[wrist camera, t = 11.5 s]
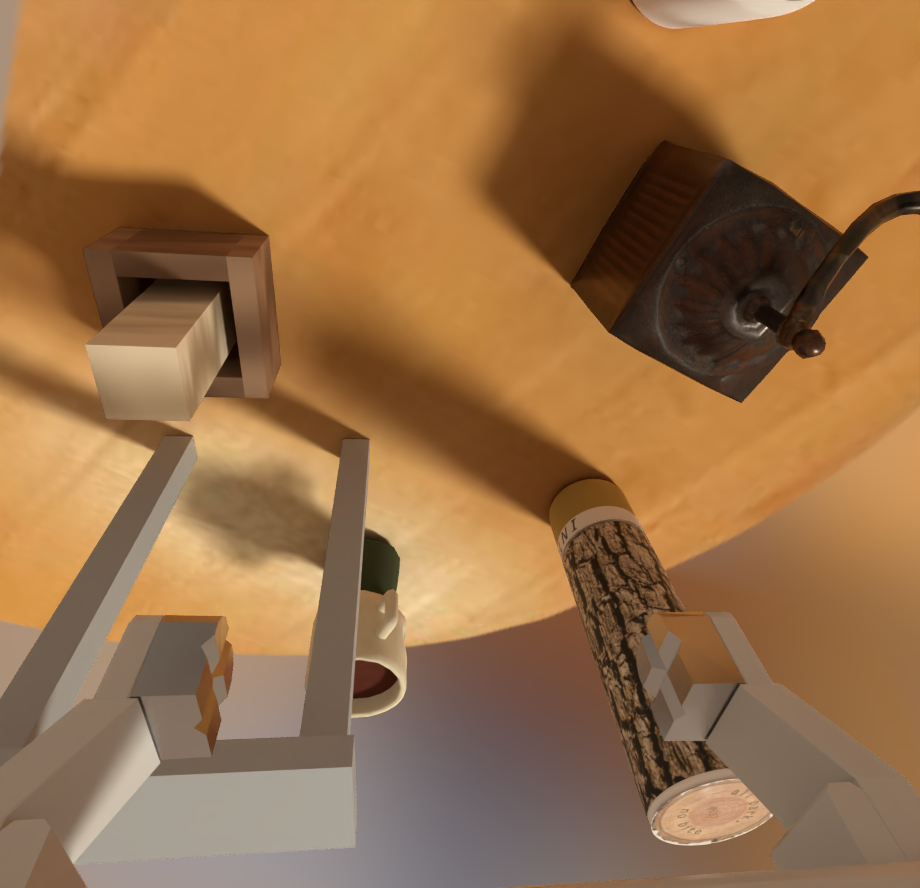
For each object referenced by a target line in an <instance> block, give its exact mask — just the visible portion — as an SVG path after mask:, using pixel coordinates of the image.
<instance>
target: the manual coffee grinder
mask: <svg viewBox="0 0 920 888" xmlns="http://www.w3.org/2000/svg"><path fill="white" fill-rule="evenodd" d="M908 214H919V215H920V191H912V192H905V193H899V194H894V195H891V196H889V197H887V198H885V199H882V200H880V201H878V202H876V203H874V204H872V205H871V206H870V207H869V208H868V209H867V210H866V211H865V212H864V213H862V214H861V215H860V216H859V217H858V218H857V219H856V220H855V221H854V222H853V223H852V224H851V225H850V226H849V227H848V229H847V230H846V231H845V233H844V234H843V233H841V232H840V231H839V230H837V229H836V228H835V227H833V226H832V225H830V224H829V223H827V222H826V221H825V220H823V219H822V218H820V217H819V216H817V215H816V214H814V213H813V212H812V211H810V210H809V209H807V208H806V207H804V206H803V205H801V204H800V203H799V202H797V201H796V200H795V199H794V198H792V197H791V196H790V195H788V194H787V193H786V192H784V191H783V190H782V189H780V188H779V187H778V186H776V185H775V184H774V183H772V182H770V181H768V180H766V179H765V178H763V177H761V176H759V175H757V174H755V173H753V172H751V171H749V170H747V169H745V168H743V167H741V166H739V165H738V164H736V163H734V162H733V161H731V160H729V159H726V158H723V157H719V156H715V155H711V154H707V153H703V152H699V151H695V150H691V149H688V148H684V147H680V146H677V145H674V144H672V143H670V142H668V141H666V140H664V141H663V142H662V143H661V144H660V145H659V146H658V147H657V149H656V150H655V151H654V152H653V153H652V154H651V156H650V157H649V158H648V159H647V160H646V162H645V163H644V164H643V165H642V167H641V168H640V170H639V172H638V173H637V175H636V176H635V178H634V179H633V181H632V182H631V184H630V186H629V187H628V189H627V190H626V192H625V193H624V195H623V197H622V198H621V200H620V202H619V203H618V205H617V206H616V208H615V210H614V211H613V213H612V214H611V216H610V218H609V219H608V221H607V223H606V224H605V226H604V227H603V229H602V231H601V233H600V234H599V236H598V238H597V240H596V241H595V243H594V245H593V247H592V248H591V250H590V252H589V254H588V255H587V257H586V259H585V261H584V262H583V264H582V266H581V268H580V269H579V271H578V273H577V275H576V276H575V278H574V280H573V282H572V284H571V288H573V289H574V290H575V291H576V293H577V294H578V295H579V297H580V298H581V299H582V300H583V302H584V303H585V304H586V306H587V307H588V308H589V309H590V311H591V312H592V313H593V314H594V315H595V317H596V318H597V319H598V320H599V321H600V323H601V324H602V325H603V326H604V327H605V329H606V330H607V331H608V332H609V333H611V334H612V335H614V336H615V337H617V338H618V339H620V340H622V341H623V342H625V343H626V344H628V345H630V346H631V347H633V348H634V349H636V350H638V351H640V352H642V353H644V354H645V355H647V356H649V357H651V358H653V359H655V360H657V361H659V362H660V363H662V364H664V365H666V366H668V367H670V368H672V369H674V370H676V371H677V372H679V373H681V374H683V375H685V376H687V377H689V378H691V379H692V380H694V381H696V382H698V383H700V384H702V385H704V386H706V387H708V388H710V389H712V390H714V391H716V392H719V393H721V394H723V395H725V396H727V397H729V398H732V399H734V400H736V401H738V402H740V403H742V402H743V401H744V399H745V398H746V397H747V396H748V395H749V394H750V393H751V392H752V391H753V390H754V388H755V387H756V386H757V385H758V384H759V383H760V382H761V381H762V380H763V379H764V378H765V376H766V375H767V374H768V373H769V372H770V371H771V370H772V369H773V367H774V366H775V365H776V364H777V363H778V362H779V361H780V359H781V358H782V357H783V356H784V355H785V354H786V353H787V352H788V351H789V350H794V351H795V352H796V354H797V355H798V356H800V357H801V358H803V359H805V358H810V357H814V356H817V355H820V354H821V353H822V352H823V351H824V350H825V344H826V342H825V339H824V337H823V336H822V335H821V333H820V332H819V331H818V330H812V329H811V327H812V326H813V325H814V323H815V322H816V320H817V319H818V317H819V315H820V313H821V312H822V311H823V310H824V309H825V308H826V306H827V305H828V304H829V303H830V302H831V301H832V299H833V298H834V297H835V296H836V295H837V294H838V293H839V291H840V290H841V289H842V288H843V287H844V286H845V284H846V283H847V282H848V281H849V280H850V278H851V277H852V276H853V275H854V274H855V273H856V271H857V270H858V269H859V268H860V267H861V266H862V264H863V263H864V262H865V261H866V260H867V258H868V256H867V255H866V254H865V253H864V252H862V251H861V250H860V249H859V248H858V246H859V245H860V244H861V243H862V242H863V241H864V240H865V238H866V237H867V236H868V235H869V234H871V233H872V232H873V231H874V230H876V229H877V228H878V227H879V226H880V225H882V224H883V223H885V222H887V221H889V220H891V219H894V218H896V217H898V216H900V215H908Z"/></svg>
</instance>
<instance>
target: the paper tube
mask: <svg viewBox="0 0 920 888" xmlns="http://www.w3.org/2000/svg"><path fill="white" fill-rule="evenodd" d="M549 521H550V525H551V528H552V531H553V534H554V537H555V540H556V543H557V546H558V550H559V553H560V556H561V559H562V562H563V565H564V568H565V571H566V574H567V577H568V580H569V583H570V586H571V589H572V592H573V595H574V598H575V601H576V604H577V607H578V611H579V614H580V617H581V620H582V622H583V626H584V629H585V631H586V635H587V638H588V641H589V644H590V647H591V650H592V653H593V656H594V659H595V662H596V665H597V668H598V671H599V674H600V677H601V680H602V683H603V686H604V689H605V692H606V695H607V698H608V701H609V704H610V707H611V710H612V713H613V716H614V719H615V722H616V725H617V728H618V732H619V735H620V738H621V740H622V744H623V747H624V750H625V753H626V756H627V759H628V762H629V765H630V768H631V770H632V774H633V777H634V780H635V783H636V786H637V789H638V792H639V795H640V798H641V801H642V804H643V807H644V810H645V813H646V816H647V819H648V822H649V823H650V825H651V829H652V832H653V834H654V835H655V836H656V837H657V838H659V839H660V840H662V841H665V842H668V843H672V844H677V845H703V844H710V843H716V842H720V841H724V840H727V839H731V838H734V837H737V836H739V835H742V834H744V833H747V832H749V831H751V830H753V829H755V828H756V827H758V826H760V825H761V824H763V823H764V822H766V821H767V820H768V819H769V818H770V817H772V816H773V814H772V813H771V812H770V811H769V810H768V809H767V808H766V807H765V806H764V805H763V804H762V803H761V802H760V801H759V800H758V798H757V797H756V796H755V795H754V794H753V793H752V792H751V791H750V790H749V789H748V788H747V787H746V786H745V785H744V784H743V783H742V781H741V780H740V779H739V778H738V777H737V776H736V775H735V774H734V773H733V772H732V771H731V770H730V769H729V768H728V767H727V766H726V764H725V763H724V762H723V761H722V760H721V759H720V758H719V757H718V756H717V755H716V754H715V753H714V752H713V751H712V750H711V749H710V747H709V746H708V745H707V744H706V741H664V740H663V738H662V735H661V733H660V730H659V727H658V725H657V722H656V720H655V717H654V715H653V712H652V709H651V707H652V704H653V701H654V697H653V696H652V695H651V694H650V693H649V692H648V691H647V690H645V689H644V688H643V686H642V683H641V680H640V678H639V674H638V669H637V648H638V646H639V643H640V640H641V639H642V638H643V637H645V636H646V635H648V634H649V633H650V632H649V629H648V627H647V623H648V620H649V618H650V616H651V615H653V614H654V613H659V612H686V610H685V608H684V607H683V605H682V603H681V601H680V599H679V597H678V595H677V593H676V591H675V589H674V588H673V586H672V584H671V582H670V580H669V578H668V576H667V574H666V572H665V570H664V569H663V567H662V565H661V563H660V561H659V559H658V557H657V555H656V553H655V551H654V550H653V548H652V546H651V544H650V542H649V540H648V538H647V536H646V534H645V532H644V531H643V529H642V527H641V525H640V523H639V521H638V519H637V518H636V516H635V514H634V512H633V510H632V508H631V506H630V505H629V503H628V501H627V499H626V497H625V495H624V493H623V492H622V491H621V489H620V488H619V487H617V486H616V485H615V484H613V483H611V482H609V481H606V480H601V479H585V480H580V481H577V482H575V483H572V484H570V485H569V486H567V487H565V488H564V489H563V490H562V491H561V492H560V493H559V494H558V495H557V496H556V497H555V499H554V500H553V502H552V504H551V507H550V510H549Z"/></svg>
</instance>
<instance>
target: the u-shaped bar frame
mask: <svg viewBox="0 0 920 888" xmlns="http://www.w3.org/2000/svg"><path fill="white" fill-rule="evenodd" d="M196 460H197V454H196V449H195V444H194V439H193V436H164V438H163V440H162V441H161V443H160V444H159V446H158V448H157V449H156V451H155V452H154V454H153V456H152V457H151V459H150V460H149V462H148V464H147V465H146V467H145V468H144V470H143V472H142V473H141V475H140V476H139V478H138V480H137V481H136V483H135V484H134V486H133V488H132V489H131V491H130V492H129V494H128V496H127V497H126V499H125V500H124V502H123V504H122V505H121V507H120V508H119V510H118V512H117V513H116V515H115V516H114V518H113V520H112V521H111V523H110V524H109V526H108V528H107V529H106V531H105V532H104V534H103V536H102V537H101V539H100V540H99V542H98V544H97V545H96V547H95V548H94V550H93V552H92V553H91V555H90V556H89V558H88V560H87V561H86V563H85V564H84V566H83V568H82V569H81V571H80V572H79V574H78V576H77V577H76V579H75V580H74V582H73V584H72V585H71V587H70V588H69V590H68V592H67V593H66V595H65V596H64V598H63V600H62V601H61V603H60V604H59V606H58V608H57V609H56V611H55V612H54V614H53V616H52V617H51V619H50V620H49V622H48V624H47V625H46V627H45V628H44V630H43V632H42V633H41V635H40V636H39V638H38V640H37V641H36V643H35V644H34V646H33V648H32V649H31V651H30V652H29V654H28V656H27V657H26V659H25V660H24V662H23V664H22V665H21V667H20V668H19V670H18V672H17V673H16V675H15V676H14V678H13V680H12V681H11V683H10V684H9V686H8V688H7V689H6V691H5V692H4V694H3V696H2V697H1V699H0V767H1V766H2V765H4V764H5V763H6V762H7V761H9V760H10V759H11V758H12V757H14V756H15V755H16V754H17V753H18V752H20V751H21V750H22V749H23V748H25V747H26V746H27V745H28V744H30V743H31V742H32V741H33V740H34V739H36V738H37V737H38V736H39V735H41V734H42V733H43V732H44V731H46V730H47V729H48V728H49V727H50V726H52V725H53V724H54V723H55V722H57V721H58V720H59V719H60V718H62V717H63V716H64V715H65V714H66V713H68V712H69V711H70V709H71V707H72V705H73V703H74V701H75V699H76V697H77V695H78V693H79V691H80V689H81V687H82V685H83V683H84V681H85V679H86V677H87V675H88V673H89V671H90V669H91V667H92V666H93V664H94V662H95V660H96V658H97V656H98V654H99V652H100V650H101V648H102V646H103V644H104V642H105V640H106V638H107V636H108V634H109V632H110V630H111V628H112V626H113V624H114V622H115V620H116V618H117V616H118V614H119V612H120V610H121V608H122V606H123V604H124V602H125V600H126V598H127V596H128V595H129V593H130V591H131V589H132V587H133V585H134V583H135V581H136V579H137V577H138V575H139V573H140V571H141V569H142V567H143V565H144V563H145V561H146V559H147V557H148V555H149V553H150V551H151V549H152V547H153V545H154V543H155V541H156V539H157V537H158V535H159V533H160V531H161V529H162V527H163V525H164V523H165V522H166V520H167V518H168V516H169V514H170V512H171V510H172V508H173V506H174V504H175V502H176V500H177V498H178V496H179V494H180V492H181V490H182V488H183V486H184V484H185V482H186V480H187V478H188V476H189V474H190V472H191V470H192V468H193V466H194V464H195V462H196ZM368 474H369V439H343V442H342V449H341V456H340V463H339V469H338V476H337V483H336V490H335V497H334V504H333V511H332V518H331V524H330V531H329V538H328V545H327V552H326V559H325V566H324V572H323V579H322V586H321V593H320V600H319V607H318V614H317V621H316V627H315V634H314V641H313V648H312V655H311V662H310V669H309V675H308V682H307V689H306V696H305V703H304V710H303V717H302V724H301V731H300V737H281V738H259V739H258V738H257V739H234V740H233V739H232V740H216V743H215V746H214V750H213V754H212V757H200V758H184V759H167V760H160V764H159V765H158V766H157V768H156V769H155V770H154V771H153V772H152V773H151V775H150V776H149V777H148V778H147V779H146V780H145V781H144V783H143V784H142V785H141V786H140V787H139V788H138V790H137V791H136V792H135V793H134V794H133V795H132V796H131V798H130V799H129V800H128V801H127V802H126V803H125V805H124V806H123V807H122V808H121V809H120V810H119V812H118V813H117V814H116V815H115V816H114V817H113V818H112V820H111V821H110V822H109V823H108V824H107V825H106V827H105V828H104V829H103V830H102V831H101V832H100V833H99V835H98V836H97V837H96V838H95V839H94V840H93V842H92V843H91V844H90V845H89V846H88V847H87V848H86V850H85V851H84V852H83V853H82V854H81V855H80V857H79V858H78V859H77V860H76V861H75V862H74V863H73V864H74V865H78V864H95V863H111V862H127V861H143V860H159V859H175V858H191V857H207V856H223V855H237V854H253V853H254V854H255V853H271V852H287V851H303V850H319V849H335V848H351V847H355V843H356V825H357V804H356V803H357V802H356V774H355V746H354V735H350V728H351V714H352V700H353V686H354V672H355V658H356V644H357V630H358V616H359V601H360V587H361V573H362V559H363V545H364V531H365V517H366V503H367V489H368Z"/></svg>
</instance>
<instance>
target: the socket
mask: <svg viewBox="0 0 920 888" xmlns="http://www.w3.org/2000/svg"><path fill="white" fill-rule="evenodd" d="M82 250H83V254H84V258H85V262H86V266H87V269H88V273H89V277H90V281H91V284H92V288H93V292H94V296H95V300H96V303H97V307H98V311H99V315H100V319H101V322H102V326H103V328H104V327H105V326H106V325H107V324H108V323H109V322H111V321H112V320H113V319H114V318H115V317H116V316H117V315H118V314H119V313H121V312H122V311H123V310H124V309H125V308H126V307H127V306H128V305H129V304H131V303H132V302H133V301H134V300H135V299H136V298H137V297H138V296H139V295H141V294H142V293H143V292H144V291H145V290H146V289H147V288H148V287H149V286H151V285H152V284H153V283H154V278H162V279H183V280H205V281H226V282H229V283H230V290H231V298H232V305H233V312H234V320H235V327H236V334H237V342H238V345H235V344H234V346H233V348H232V349H231V351H230V353H229V355H228V356H227V358H226V360H225V361H224V363H223V365H222V367H221V368H220V370H219V372H218V374H217V375H216V377H215V379H214V380H213V382H212V384H211V386H210V387H209V389H208V391H207V393H206V394H205V396H204V397H232V398H268V397H269V395H270V392H271V389H272V387H273V384H274V382H275V379H276V376H277V374H278V371H279V369H280V366H281V358H280V348H279V337H278V327H277V316H276V306H275V295H274V285H273V274H272V264H271V253H270V243H269V236H266V235H248V234H230V233H212V232H194V231H176V230H158V229H140V228H122V227H119V228H117V229H116V230H114V231H112V232H110V233H109V234H107V235H105V236H104V237H102V238H100V239H99V240H97V241H95V242H93V243H92V244H90V245H88V246H87V247H85V248H83V249H82Z"/></svg>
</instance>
